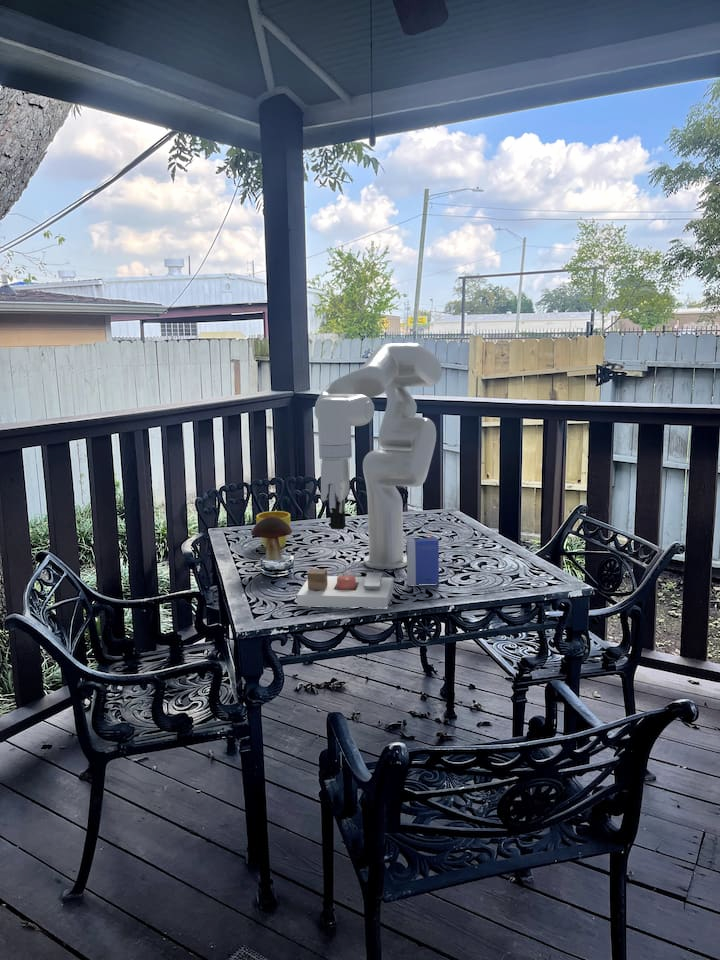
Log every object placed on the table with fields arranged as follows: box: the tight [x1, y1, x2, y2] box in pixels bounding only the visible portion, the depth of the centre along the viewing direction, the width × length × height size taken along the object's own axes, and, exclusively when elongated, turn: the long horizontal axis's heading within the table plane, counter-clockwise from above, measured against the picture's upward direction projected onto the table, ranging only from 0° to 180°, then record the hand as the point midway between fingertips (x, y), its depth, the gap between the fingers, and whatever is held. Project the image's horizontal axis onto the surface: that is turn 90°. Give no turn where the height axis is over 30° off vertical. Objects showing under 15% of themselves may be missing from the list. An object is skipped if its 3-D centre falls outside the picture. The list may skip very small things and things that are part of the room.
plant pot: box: [255, 510, 291, 549], centre depth 200 cm, size 10×10×10 cm
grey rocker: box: [364, 571, 383, 589], centre depth 155 cm, size 6×4×1 cm, turn 171°
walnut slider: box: [307, 568, 328, 590], centre depth 155 cm, size 3×4×4 cm
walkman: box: [405, 535, 440, 585], centre depth 163 cm, size 8×3×12 cm, turn 96°
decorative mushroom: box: [251, 516, 293, 561], centre depth 177 cm, size 11×11×15 cm
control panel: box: [296, 575, 394, 608], centre depth 156 cm, size 13×21×4 cm, turn 81°
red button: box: [337, 574, 356, 590], centre depth 156 cm, size 4×4×3 cm
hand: (338, 528), depth 154 cm, fingers closed
